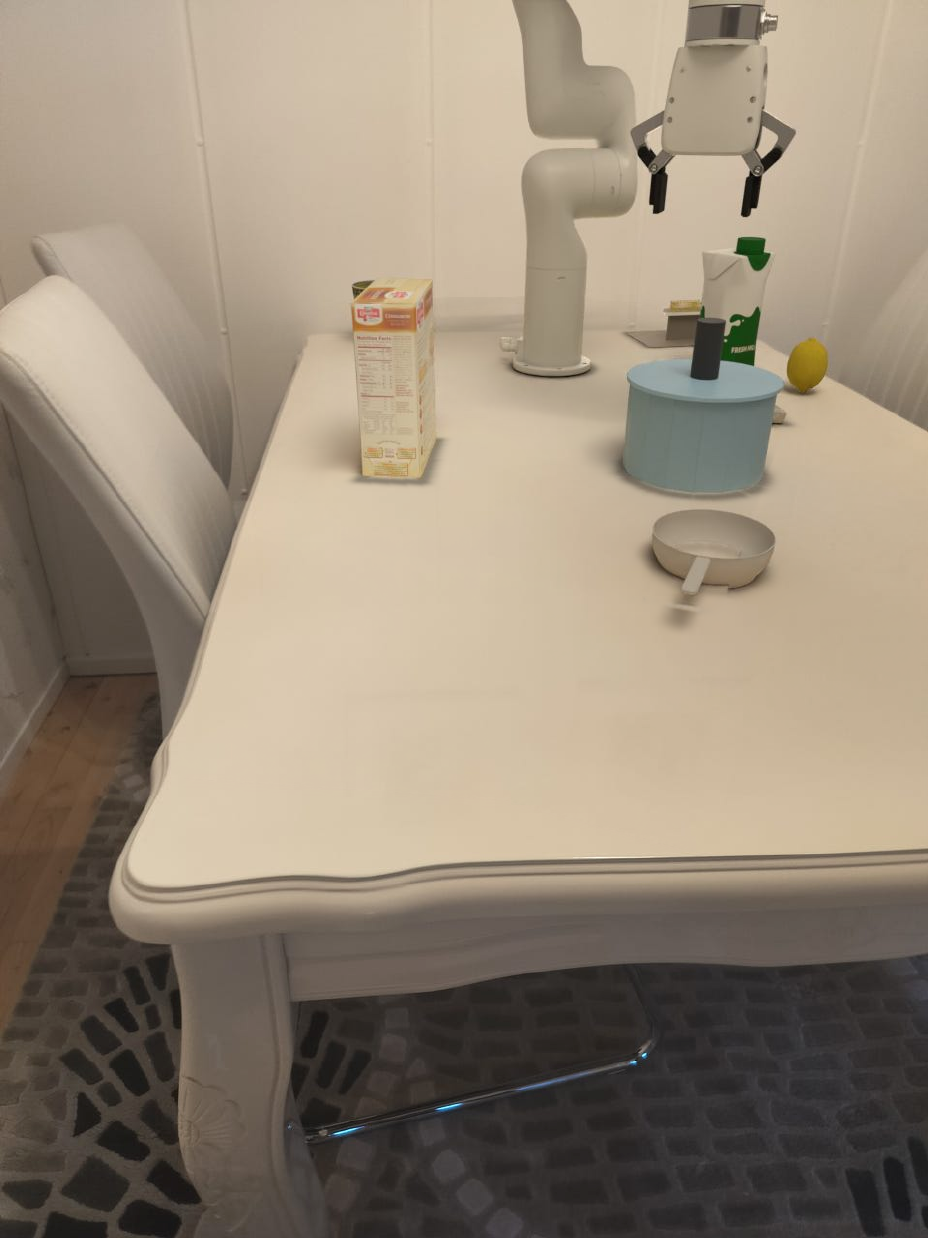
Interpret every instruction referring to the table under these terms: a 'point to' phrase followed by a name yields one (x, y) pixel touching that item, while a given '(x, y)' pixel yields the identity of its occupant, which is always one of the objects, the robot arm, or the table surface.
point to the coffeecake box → (395, 375)
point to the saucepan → (712, 529)
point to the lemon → (807, 364)
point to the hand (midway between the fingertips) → (701, 214)
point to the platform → (674, 326)
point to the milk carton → (736, 294)
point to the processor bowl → (696, 442)
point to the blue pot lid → (705, 373)
